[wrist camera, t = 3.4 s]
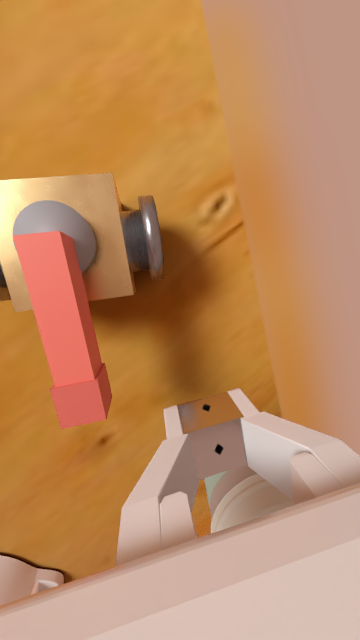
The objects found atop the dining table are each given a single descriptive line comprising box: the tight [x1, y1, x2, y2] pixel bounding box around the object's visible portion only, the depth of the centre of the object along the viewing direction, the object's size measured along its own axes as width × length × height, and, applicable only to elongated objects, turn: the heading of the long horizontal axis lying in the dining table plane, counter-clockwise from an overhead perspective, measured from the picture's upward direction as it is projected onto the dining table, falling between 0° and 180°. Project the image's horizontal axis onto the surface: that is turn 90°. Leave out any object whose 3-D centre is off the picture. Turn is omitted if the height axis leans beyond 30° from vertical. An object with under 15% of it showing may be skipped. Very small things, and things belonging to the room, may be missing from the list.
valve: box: [0, 173, 164, 312], centre depth 17 cm, size 8×13×6 cm, turn 97°
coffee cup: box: [204, 465, 294, 533], centre depth 21 cm, size 8×8×12 cm
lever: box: [12, 200, 112, 429], centre depth 13 cm, size 13×4×4 cm, turn 7°
